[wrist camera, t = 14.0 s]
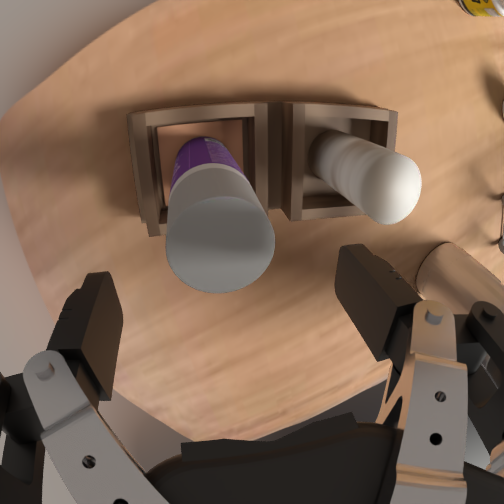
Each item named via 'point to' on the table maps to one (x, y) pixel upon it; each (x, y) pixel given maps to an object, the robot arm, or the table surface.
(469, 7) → the supplement bottle
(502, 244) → the newton's cradle
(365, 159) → the wooden divided tray
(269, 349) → the table surface
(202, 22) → the table surface
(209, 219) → the container
